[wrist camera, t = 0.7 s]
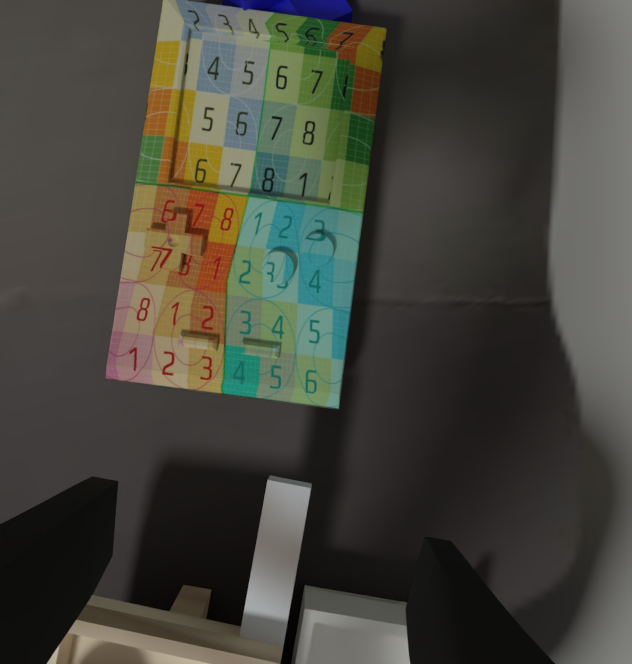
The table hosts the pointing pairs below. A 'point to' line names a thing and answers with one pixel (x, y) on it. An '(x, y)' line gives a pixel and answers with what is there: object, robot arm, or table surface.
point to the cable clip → (300, 8)
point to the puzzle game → (248, 205)
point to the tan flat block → (192, 601)
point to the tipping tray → (197, 633)
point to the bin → (350, 629)
